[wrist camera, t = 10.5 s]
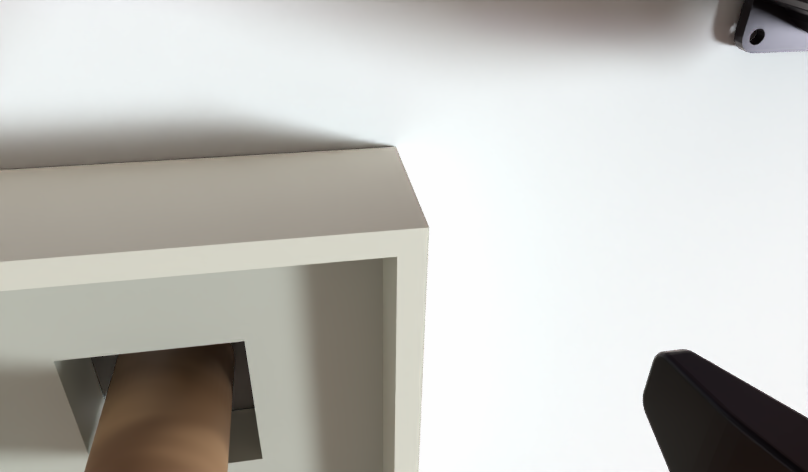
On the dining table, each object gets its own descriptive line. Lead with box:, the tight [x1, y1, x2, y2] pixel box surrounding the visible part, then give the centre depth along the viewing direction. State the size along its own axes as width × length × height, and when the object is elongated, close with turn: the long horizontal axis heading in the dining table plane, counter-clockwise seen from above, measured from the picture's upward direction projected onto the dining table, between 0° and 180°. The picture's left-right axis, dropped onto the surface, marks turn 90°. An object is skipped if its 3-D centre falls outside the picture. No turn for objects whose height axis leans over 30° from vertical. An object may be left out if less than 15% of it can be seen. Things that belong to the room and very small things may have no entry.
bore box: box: [0, 147, 429, 472], centre depth 21 cm, size 16×16×5 cm
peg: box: [84, 343, 235, 472], centre depth 19 cm, size 4×4×9 cm
